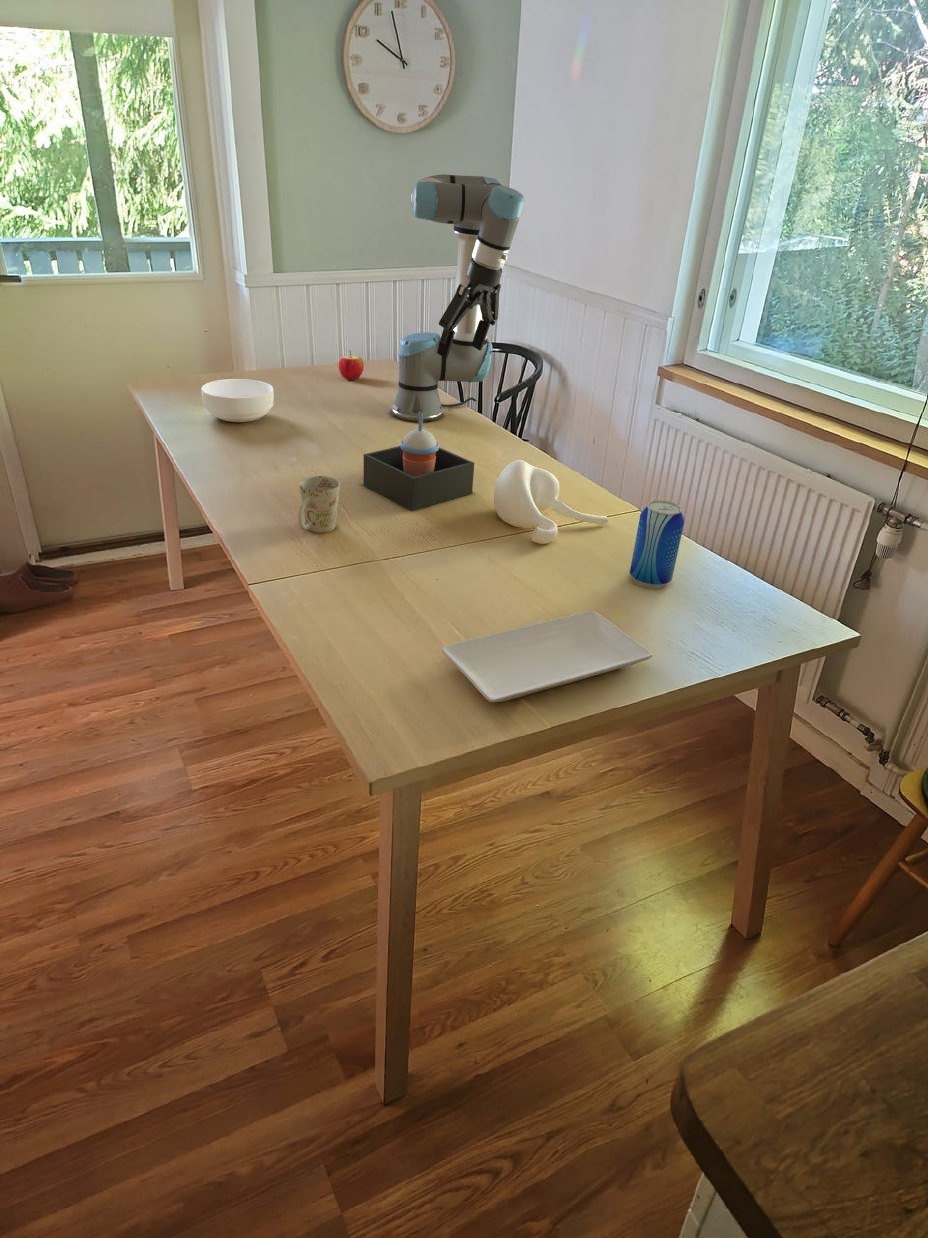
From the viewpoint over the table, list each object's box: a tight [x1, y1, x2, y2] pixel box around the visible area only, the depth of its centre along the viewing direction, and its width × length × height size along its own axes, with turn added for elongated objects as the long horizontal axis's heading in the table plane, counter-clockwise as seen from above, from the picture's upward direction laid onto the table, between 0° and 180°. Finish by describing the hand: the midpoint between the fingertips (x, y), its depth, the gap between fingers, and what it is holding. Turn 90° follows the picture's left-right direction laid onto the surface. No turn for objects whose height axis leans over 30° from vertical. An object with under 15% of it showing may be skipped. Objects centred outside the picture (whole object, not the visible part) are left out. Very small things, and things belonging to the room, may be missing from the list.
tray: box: [441, 610, 653, 703], centre depth 137 cm, size 17×32×4 cm, turn 119°
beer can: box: [629, 499, 685, 590], centre depth 164 cm, size 8×8×16 cm
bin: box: [363, 445, 475, 511], centre depth 200 cm, size 19×19×8 cm
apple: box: [337, 349, 365, 381], centre depth 280 cm, size 8×8×10 cm
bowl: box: [200, 378, 275, 423], centre depth 238 cm, size 20×20×8 cm
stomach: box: [493, 459, 609, 545], centre depth 188 cm, size 23×13×24 cm
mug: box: [298, 475, 341, 534], centre depth 175 cm, size 8×13×10 cm, turn 161°
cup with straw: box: [399, 412, 440, 477], centre depth 197 cm, size 9×9×18 cm
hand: (459, 351), depth 200 cm, fingers open, 13 cm apart
